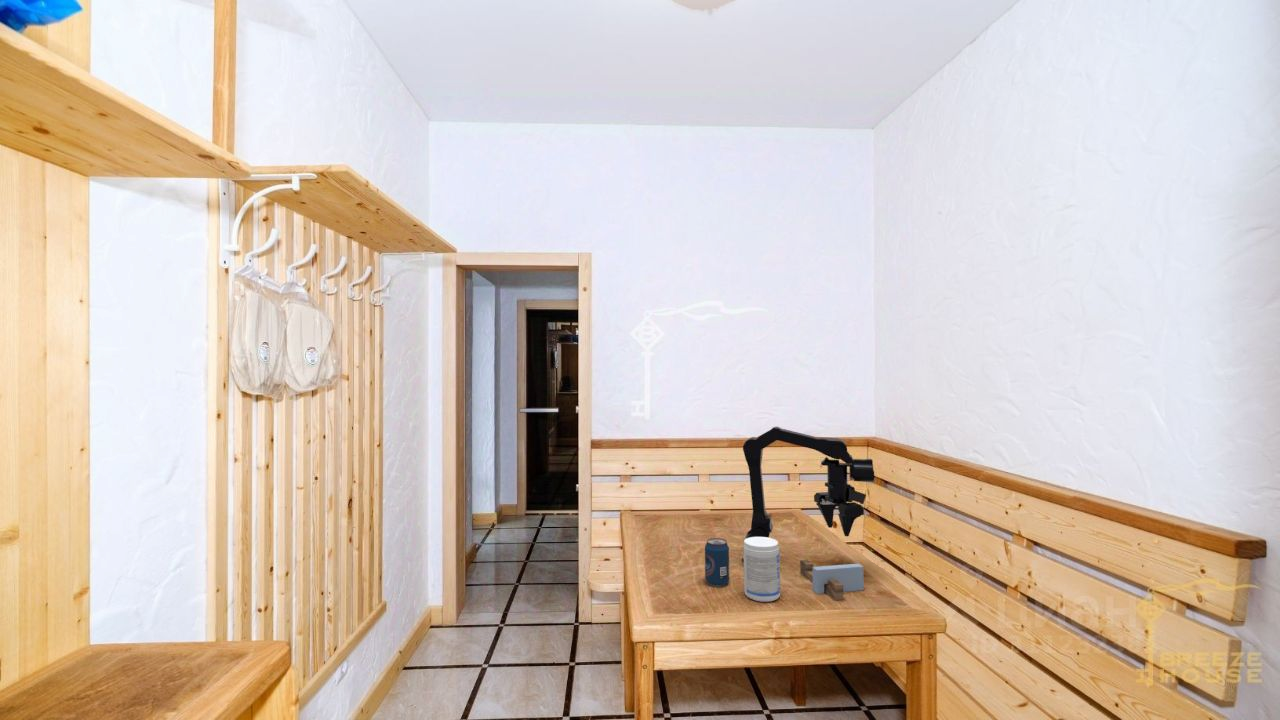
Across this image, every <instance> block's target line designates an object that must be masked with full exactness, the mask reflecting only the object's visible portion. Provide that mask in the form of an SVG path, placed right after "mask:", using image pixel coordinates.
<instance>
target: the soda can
mask: <svg viewBox="0 0 1280 720" xmlns="http://www.w3.org/2000/svg"><path fill="white" fill-rule="evenodd" d="M704 578H705V581H706V583H707V584H708V585H709V586H712V587H717V588H719V587H725V586H727V584H728V583H729V581H730V546H729V545H728V542H727V540H726V539H725V538H724V539H723V538H720V537H718V538H717V537H714V538H708V539H707V540H706V543H705V546H704Z"/></svg>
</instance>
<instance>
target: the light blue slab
mask: <svg viewBox="0 0 1280 720" xmlns="http://www.w3.org/2000/svg"><path fill="white" fill-rule="evenodd" d="M831 579H836V580H837V581H839V582H840V583H842V584H843V591H844V593H845V592H857V591H858V590H859V591H864V582H865V581H864V566H863V565H861V564H860V563H850V564H847V563H846V564H838V565H822V566H813V583H812V591H813V593H815V594H816V595H825V592H824V584H828V580H831Z"/></svg>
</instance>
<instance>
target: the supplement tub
mask: <svg viewBox="0 0 1280 720" xmlns="http://www.w3.org/2000/svg"><path fill="white" fill-rule="evenodd" d="M744 539H745V538H744ZM743 558H744V562H743V583H744V585H743V586H744V594H745V595H746V597H747V598H748V599H751V600H753V601H757V602H763V603H766V602H767V603H768V602H773V601H776V600H778V599H779V597H780V596H781V575H780V574H781V573H780V570H781V569H780V568H781V567H780V564H781V563H780V547H779V541H778V540H776V539H775V538H771V537H769V538H768V537H750V538H746V539H745V540H743Z"/></svg>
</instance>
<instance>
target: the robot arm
mask: <svg viewBox="0 0 1280 720" xmlns="http://www.w3.org/2000/svg"><path fill="white" fill-rule="evenodd" d="M777 441H779V442H783V443H787V444H792V445H794V446H798V447H803V448H806V449H811V450H814V451H816V452H819V453H821V454H822V455H824V456H825V458H824V459H823V460H822V461H820V465H821V466H826V467H827V468H826V469H827V481H826V482H824V486H825V487H827V491H824V492H815V494H814V495H813V501H814V502H815V503H816V504H815V505H816V506H817V507H818V509H819V511H820V512H821V514H822V517H823V520H824V521H825V523H826V525H827V527H828V528H831V529H832V528H833V524H834V511H835V509H836V508H838V509H837V510H838V512H839V513H837V514H838V518H839V519H838V520H839V522H840V525H841V528H842V529H841V530H842V532H843V535H844V536H845V537H849V536H850V534H851V530H852V527H853V524H854V522H855V521H856V519H857V518H860V517H861V516H864V515H865V507H864V506H863V505H864V504H865V500H866V497H867V494H866V493H863V492H860V491H858V490H856V489H855V487H854V486H852V485H851V484H849V483H848V472H849V478H850V479H852V480H853V482H861V483H862V482H863V483H864V482H865V483H874V482H875V471H874V464H873V462H874V461H873V459H872V458H861V459H860V458H853V455H851V454H850V453H849V451H848V447H847V443H846V442H845V441H844V440H843V439H841V438H838V437H825V436H824V437H822V436H821V437H820V436H814V435H809V434H806V433H801V432H797V431H793V430H789V429H786V428H782V427H780V426H774V427H773V426H772V427H771V428H770V429H769V430H768V431H766V432H764V433H762V434H761V435H758V436H757V437H754V436H752V437H749V438H748V439H747V440H746V441H745V442H744V443H743V446H742V452H743V454H744V458H745V461H746V464H747V466H748V472H749V473H748V474H749V483H750V484H749V485H750V494H751V503H752V504H751V505H752V516H751V527H750V530H748V531H747V532H746V535H745V537H744V540H745V539H746V538H750V537H768V538H770V534H771V533H772V530H773V527H774V525H773V522H772V519H773V518H772V516H773V515H772V514H768V512H767V510H766V509H767V508H766V502H765V491H764V481H763V471H762V470H763V469H762V463H763V462H762V461H763V454H764V453H763V451H764V449H765V448H767V447H768V446H770V445H772V444H773V443H774V442H777ZM830 458H831V459H830ZM840 460H841V461H842V462H840ZM848 468H849V469H848ZM848 470H849V471H848ZM859 503H860V504H859ZM744 540H743V541H744ZM741 561H742V562H743V563H744V557H743V558H741Z"/></svg>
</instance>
